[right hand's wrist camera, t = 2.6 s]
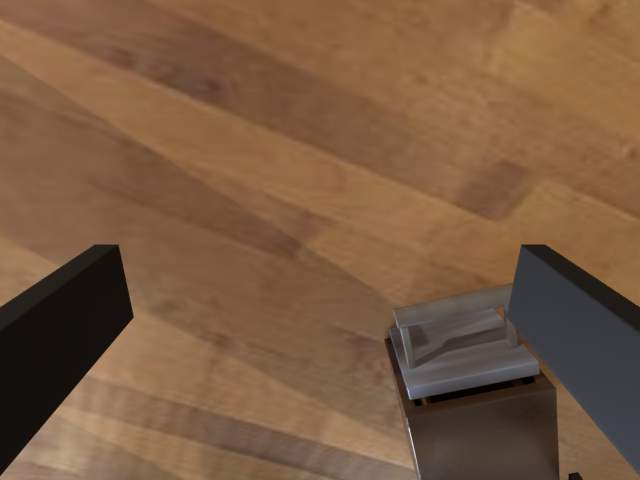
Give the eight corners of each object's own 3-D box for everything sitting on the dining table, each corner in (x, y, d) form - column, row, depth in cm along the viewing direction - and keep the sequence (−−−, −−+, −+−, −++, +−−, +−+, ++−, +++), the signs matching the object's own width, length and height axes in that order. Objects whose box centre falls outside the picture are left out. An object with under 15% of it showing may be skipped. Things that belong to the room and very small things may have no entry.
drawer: (377, 278, 33) (394, 329, 26) (487, 253, 33) (536, 298, 25) (414, 443, 41) (435, 519, 33) (504, 426, 40) (547, 500, 33)
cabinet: (384, 338, 37) (406, 418, 28) (495, 314, 36) (556, 388, 27) (411, 456, 43) (437, 553, 34) (508, 438, 42) (561, 533, 33)
